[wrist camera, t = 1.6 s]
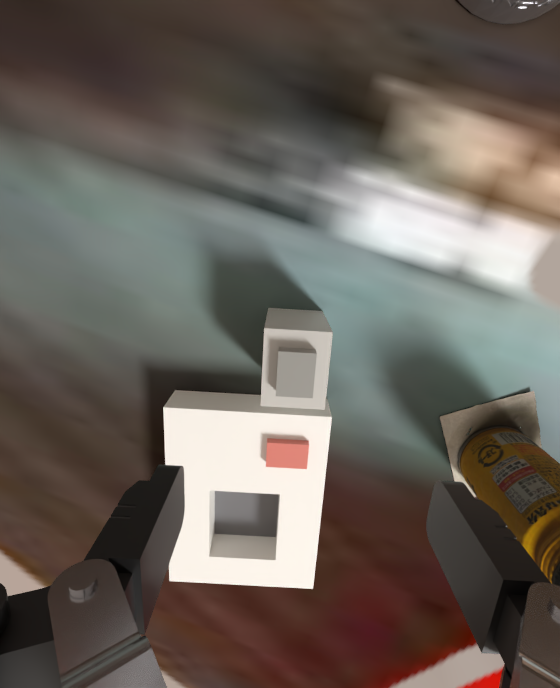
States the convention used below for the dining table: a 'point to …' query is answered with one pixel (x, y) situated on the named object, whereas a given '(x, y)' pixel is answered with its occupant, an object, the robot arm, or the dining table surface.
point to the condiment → (510, 472)
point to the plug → (295, 359)
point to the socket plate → (247, 488)
